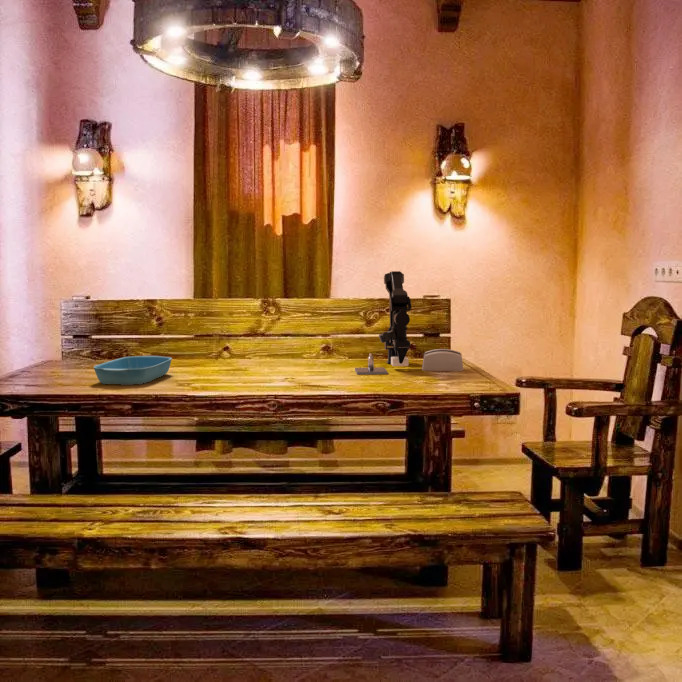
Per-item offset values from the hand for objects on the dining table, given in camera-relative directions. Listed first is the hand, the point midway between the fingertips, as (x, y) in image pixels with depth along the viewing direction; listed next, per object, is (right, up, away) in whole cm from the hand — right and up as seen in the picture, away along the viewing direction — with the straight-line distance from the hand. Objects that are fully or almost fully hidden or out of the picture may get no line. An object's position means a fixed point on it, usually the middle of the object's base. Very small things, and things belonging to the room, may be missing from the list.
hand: (399, 362), depth 299 cm
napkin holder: (+17, -4, -2) cm, 18 cm away
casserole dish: (-103, -6, -19) cm, 105 cm away
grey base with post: (-12, -4, -6) cm, 14 cm away
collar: (0, -1, 0) cm, 1 cm away
